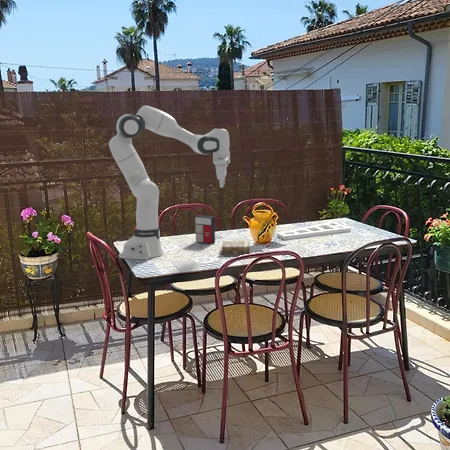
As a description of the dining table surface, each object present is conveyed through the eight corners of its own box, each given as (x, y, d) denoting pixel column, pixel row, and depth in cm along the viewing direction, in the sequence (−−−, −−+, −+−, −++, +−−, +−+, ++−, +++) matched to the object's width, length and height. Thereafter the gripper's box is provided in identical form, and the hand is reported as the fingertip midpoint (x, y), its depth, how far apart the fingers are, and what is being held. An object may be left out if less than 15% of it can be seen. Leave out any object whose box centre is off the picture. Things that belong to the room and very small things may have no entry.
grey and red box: (195, 242, 267) (194, 216, 263) (199, 240, 270) (198, 215, 267) (212, 244, 262) (211, 217, 258) (215, 242, 265) (214, 216, 262)
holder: (284, 240, 267) (284, 236, 267) (270, 233, 284) (270, 229, 283) (351, 232, 283) (351, 227, 282) (333, 226, 299) (334, 221, 298)
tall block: (221, 246, 240) (249, 246, 240) (223, 241, 251) (249, 240, 250) (222, 254, 241) (249, 253, 240) (223, 248, 252) (249, 248, 251)
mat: (224, 256, 238) (224, 256, 238) (226, 247, 255) (226, 246, 255) (266, 256, 237) (266, 255, 237) (265, 246, 254) (265, 246, 254)
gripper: (217, 158, 256) (217, 183, 259) (213, 161, 236) (214, 189, 239) (228, 158, 256) (229, 183, 259) (226, 161, 236) (227, 188, 239)
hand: (222, 186), depth 249 cm, fingers open, 8 cm apart
